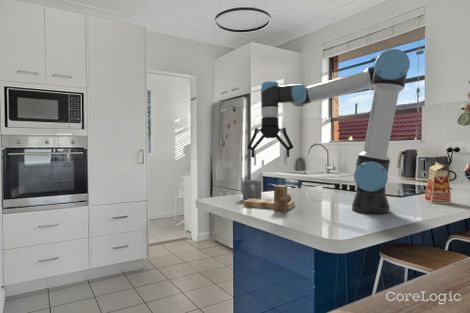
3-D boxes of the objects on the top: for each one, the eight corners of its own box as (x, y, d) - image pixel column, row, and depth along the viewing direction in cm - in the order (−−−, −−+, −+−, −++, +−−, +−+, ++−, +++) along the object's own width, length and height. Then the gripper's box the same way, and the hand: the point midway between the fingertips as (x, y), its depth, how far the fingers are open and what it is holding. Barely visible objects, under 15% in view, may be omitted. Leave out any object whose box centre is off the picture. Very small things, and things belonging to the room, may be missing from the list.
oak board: (294, 206, 152) (294, 200, 152) (289, 210, 143) (289, 204, 143) (251, 203, 161) (251, 197, 161) (243, 206, 152) (243, 201, 152)
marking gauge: (293, 205, 153) (293, 182, 153) (284, 212, 139) (284, 186, 138) (284, 205, 155) (284, 182, 155) (274, 211, 140) (274, 186, 140)
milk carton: (423, 200, 166) (424, 161, 165) (443, 200, 165) (443, 161, 164) (432, 203, 157) (432, 162, 156) (452, 203, 156) (453, 162, 155)
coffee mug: (244, 198, 177) (244, 180, 177) (262, 198, 175) (262, 180, 175) (240, 202, 164) (239, 182, 164) (259, 202, 162) (259, 182, 162)
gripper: (296, 117, 147) (297, 164, 147) (241, 118, 147) (242, 164, 148) (299, 115, 139) (299, 165, 140) (241, 116, 140) (242, 165, 140)
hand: (270, 165), depth 144 cm, fingers open, 13 cm apart
